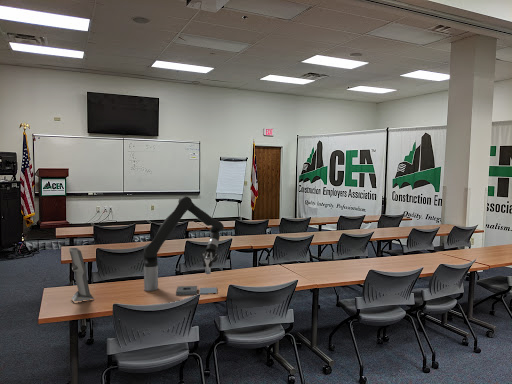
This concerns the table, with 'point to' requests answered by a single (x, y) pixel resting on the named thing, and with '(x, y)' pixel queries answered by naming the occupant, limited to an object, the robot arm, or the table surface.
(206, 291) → the rubber mat
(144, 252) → the robot arm
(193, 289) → the chuck plate
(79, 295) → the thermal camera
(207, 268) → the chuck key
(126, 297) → the table surface
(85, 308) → the table surface
